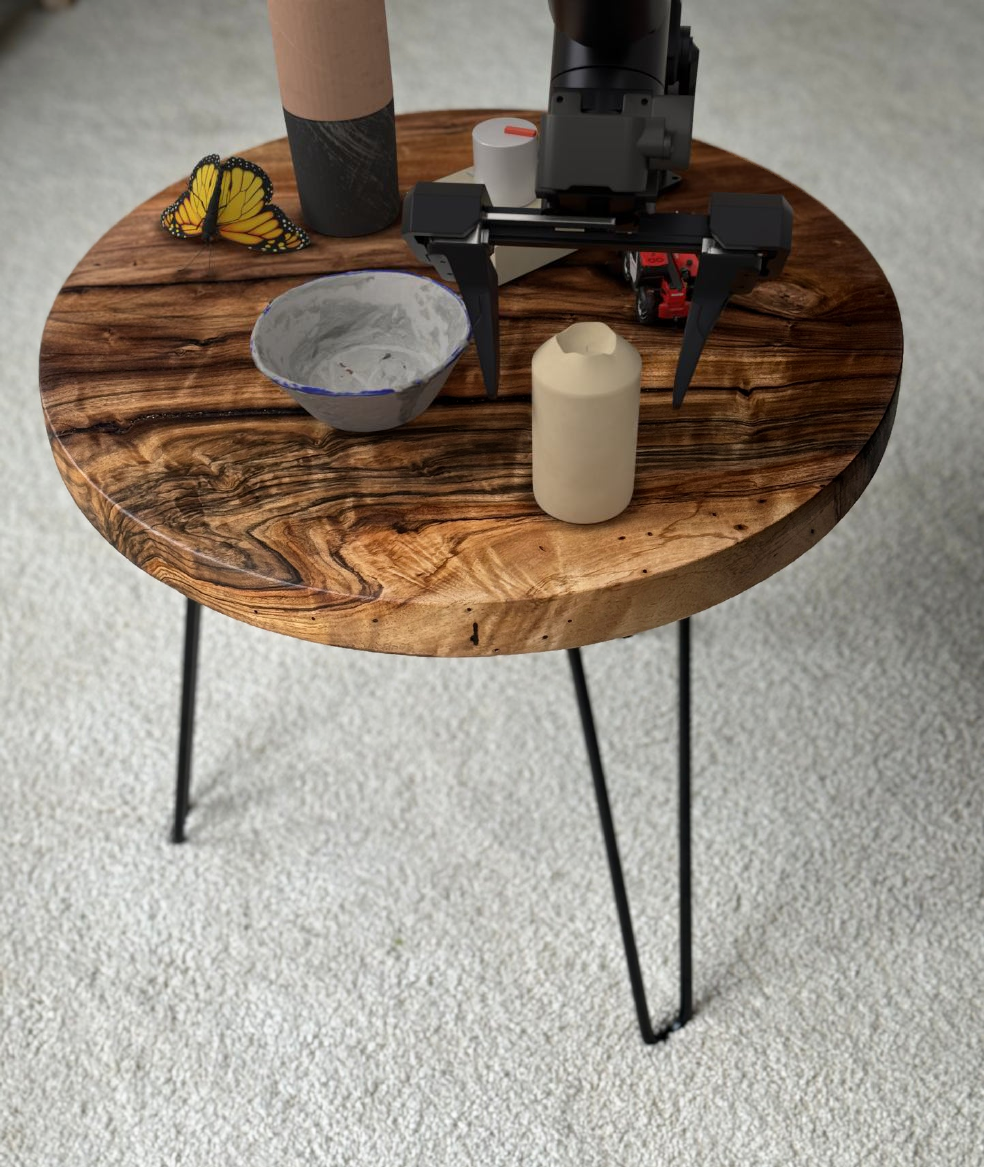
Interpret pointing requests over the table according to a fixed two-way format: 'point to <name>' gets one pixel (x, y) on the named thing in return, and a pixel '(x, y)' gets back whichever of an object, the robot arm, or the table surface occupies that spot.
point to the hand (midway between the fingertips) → (583, 403)
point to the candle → (585, 423)
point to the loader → (660, 282)
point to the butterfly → (232, 208)
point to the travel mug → (338, 111)
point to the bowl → (362, 346)
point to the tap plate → (510, 258)
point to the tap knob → (506, 160)
